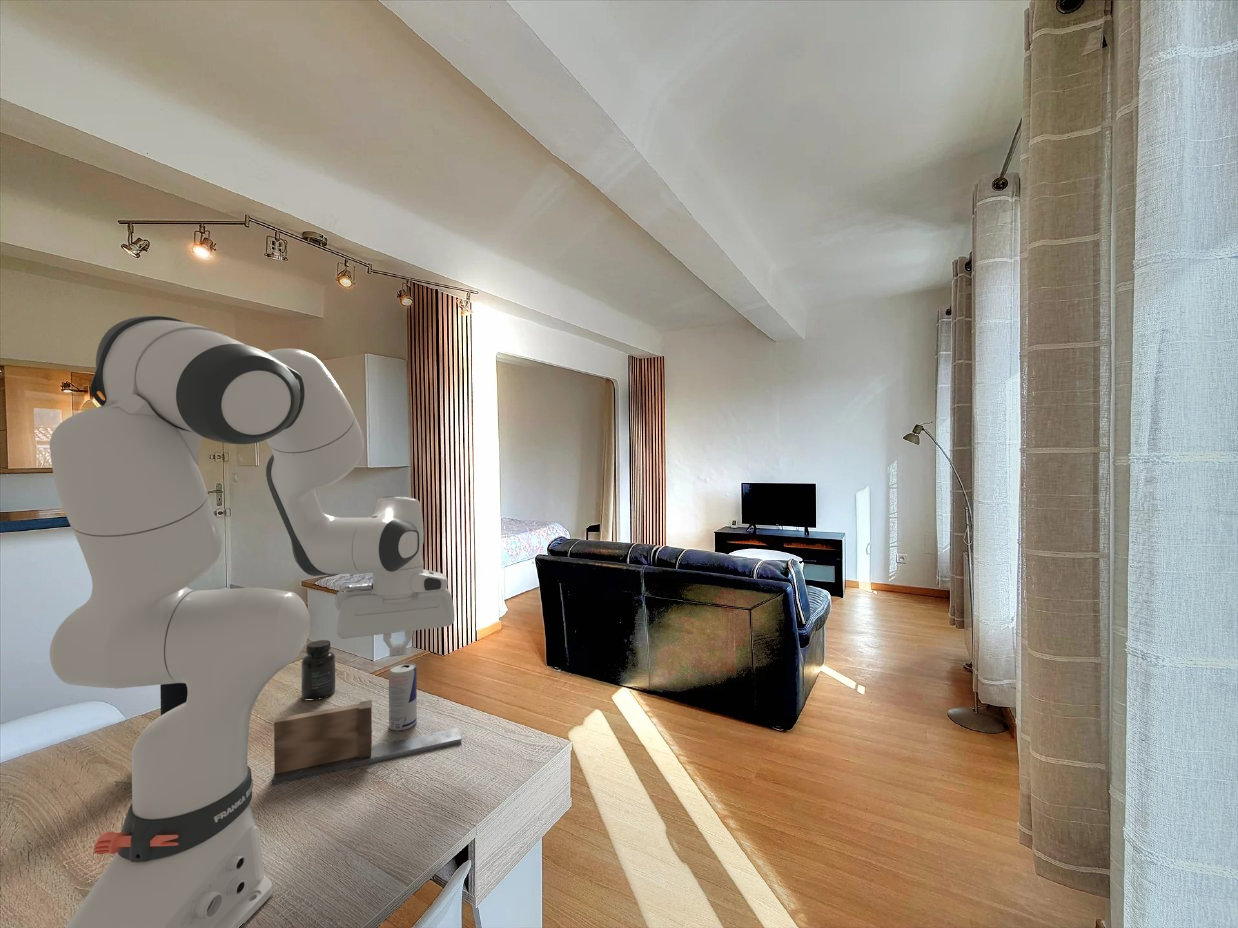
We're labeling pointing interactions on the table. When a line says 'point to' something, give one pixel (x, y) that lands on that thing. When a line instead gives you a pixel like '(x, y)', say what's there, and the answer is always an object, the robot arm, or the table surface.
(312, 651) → the supplement bottle
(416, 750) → the screen rail
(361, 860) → the table surface
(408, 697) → the energy drink
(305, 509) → the robot arm
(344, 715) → the walnut screen
